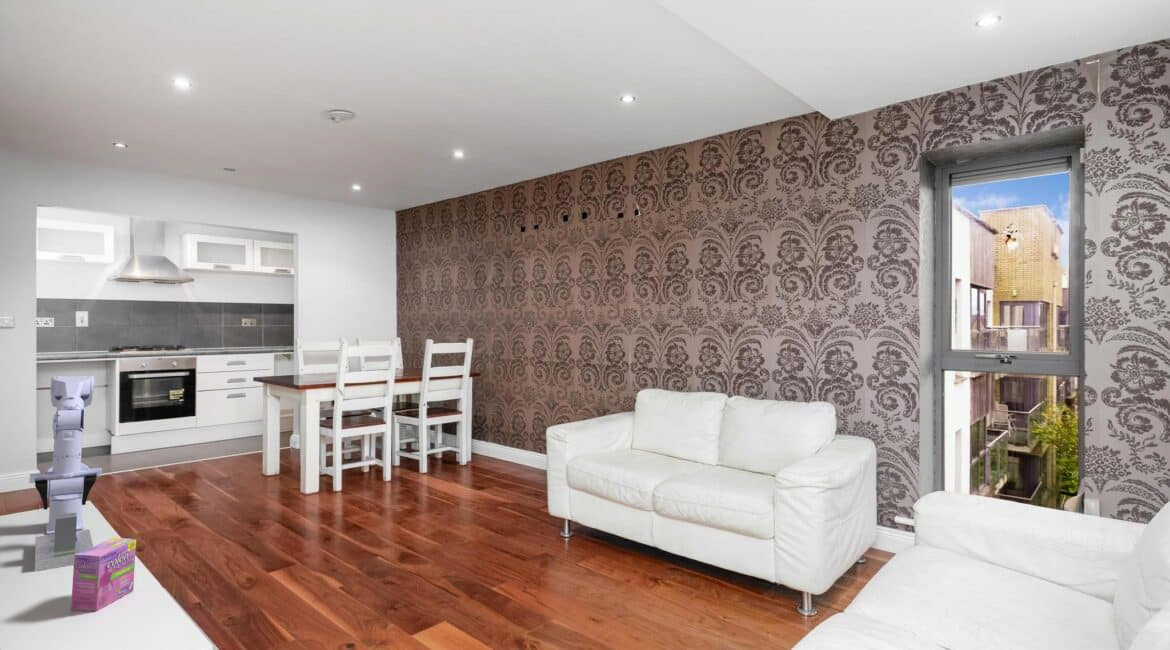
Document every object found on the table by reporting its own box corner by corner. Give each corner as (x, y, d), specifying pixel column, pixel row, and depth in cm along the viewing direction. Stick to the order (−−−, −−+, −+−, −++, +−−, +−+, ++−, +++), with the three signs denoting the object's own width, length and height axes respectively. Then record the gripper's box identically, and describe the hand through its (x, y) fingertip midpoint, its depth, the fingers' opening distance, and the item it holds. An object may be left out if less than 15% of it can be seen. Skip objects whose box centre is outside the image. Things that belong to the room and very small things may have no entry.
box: (96, 612, 128) (99, 555, 128) (70, 610, 128) (73, 554, 128) (134, 590, 138) (137, 538, 138) (109, 589, 138) (112, 537, 138)
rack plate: (35, 546, 161) (35, 536, 161) (88, 538, 168) (89, 528, 168) (34, 571, 146) (35, 560, 146) (93, 561, 153) (94, 550, 153)
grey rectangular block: (53, 546, 154) (55, 515, 154) (74, 543, 157) (76, 512, 157) (54, 551, 151) (55, 519, 151) (75, 548, 154) (76, 516, 154)
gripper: (30, 460, 154) (27, 514, 154) (103, 455, 164) (100, 505, 164) (30, 455, 160) (28, 507, 159) (101, 450, 169) (98, 499, 169)
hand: (64, 506), depth 162 cm, fingers open, 7 cm apart
